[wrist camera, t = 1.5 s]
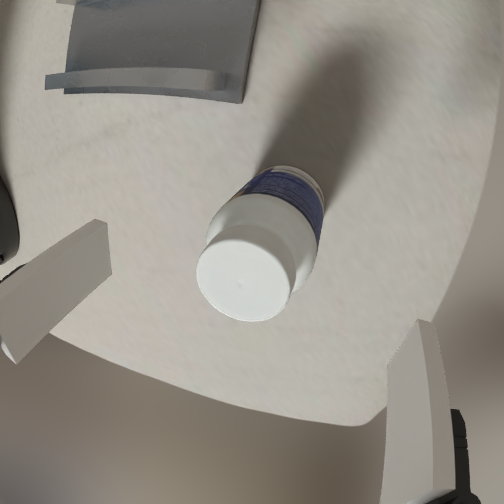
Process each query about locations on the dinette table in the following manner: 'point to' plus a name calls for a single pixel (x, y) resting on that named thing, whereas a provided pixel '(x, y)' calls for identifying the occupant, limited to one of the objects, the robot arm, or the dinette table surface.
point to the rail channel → (159, 48)
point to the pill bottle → (262, 244)
